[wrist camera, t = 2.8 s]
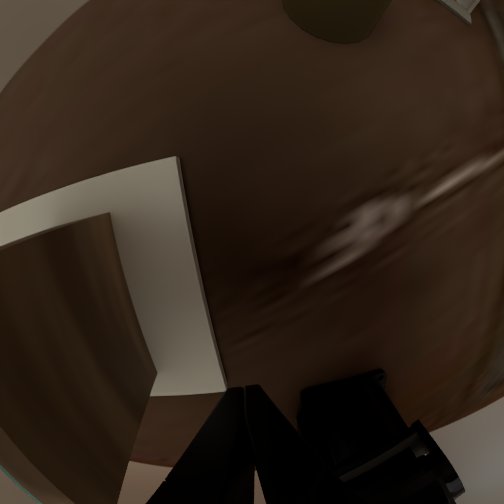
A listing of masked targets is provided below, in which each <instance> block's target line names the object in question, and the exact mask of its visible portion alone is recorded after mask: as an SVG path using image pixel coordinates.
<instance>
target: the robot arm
mask: <svg viewBox="0 0 504 504" xmlns="http://www.w3.org/2000/svg"><path fill="white" fill-rule="evenodd" d="M379 376H380V377H379ZM385 382H386V373H385V372H384V371H383V370H377V371H374V372H371V373H368V374H364V375H361V376H357V377H354V378H350V379H346V380H343V381H339V382H335V383H331V384H327V385H323V386H318V387H314V388H309V389H306V390H304V391H302V392H301V395H300V397H301V412H302V413H299V414H298V415H297V429H298V432H297V431H296V429H295V428H294V427H293V426H292V425H291V423H290V422H289V421H288V420H287V419H286V417H285V416H284V415H283V414H282V413H281V411H280V410H279V409H278V408H277V406H276V405H275V404H274V403H273V401H272V400H271V399H270V398H269V396H268V395H267V394H266V393H265V391H264V390H263V389H262V388H261V386H260V385H258V384H256V385H249V386H245V387H244V388H242V387H233V388H228V389H226V391H225V392H224V394H223V396H222V397H221V399H220V400H219V402H218V403H217V405H216V406H215V408H214V409H213V411H212V412H211V414H210V415H209V417H208V418H207V420H206V421H205V423H204V424H203V426H202V427H201V429H200V430H199V432H198V433H197V435H196V436H195V438H194V439H193V440H192V442H191V443H190V445H189V446H188V448H187V449H186V451H185V452H184V453H183V455H182V456H181V458H180V459H179V460H178V462H177V463H176V465H175V466H174V467H173V469H172V470H171V472H170V473H169V474H168V476H167V477H166V478H165V480H166V481H163V482H162V484H161V485H160V487H159V488H158V489H157V490H156V492H155V493H154V494H153V495H152V497H151V498H150V499H149V500H148V502H147V503H146V504H254V476H255V475H254V474H255V466H256V470H257V473H258V477H259V480H260V483H261V487H262V491H263V494H264V498H265V501H266V504H456V503H455V501H454V500H455V499H456V498H457V497H459V496H460V495H461V494H463V493H464V492H465V489H464V487H463V484H462V482H461V480H460V478H459V476H458V475H457V473H456V471H455V470H454V468H453V466H452V465H451V463H450V462H449V460H448V459H447V457H446V456H445V454H444V453H443V452H442V450H441V449H440V447H439V446H438V445H437V443H436V442H435V441H434V439H433V438H432V437H431V435H430V434H429V433H428V431H427V430H426V429H425V427H424V426H423V425H422V423H421V422H420V421H419V420H417V421H416V422H414V423H413V424H411V425H412V426H411V427H409V428H408V427H407V425H406V423H405V422H404V420H403V419H402V417H401V416H400V414H399V412H398V411H397V409H396V408H395V406H394V405H393V403H392V402H391V400H390V399H389V397H388V395H387V394H386V392H385V391H384V388H385ZM307 395H309V396H307ZM424 454H427V455H426V456H425V455H424Z"/></svg>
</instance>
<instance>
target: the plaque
mask: <svg viewBox="0 0 504 504" xmlns="http://www.w3.org/2000/svg"><path fill="white" fill-rule="evenodd" d="M156 376H157V370H156V368H155V365H154V363H153V360H152V358H151V355H150V352H149V350H148V347H147V344H146V342H145V339H144V336H143V333H142V330H141V327H140V324H139V321H138V318H137V315H136V312H135V309H134V306H133V303H132V299H131V296H130V293H129V289H128V286H127V282H126V279H125V275H124V272H123V268H122V264H121V260H120V256H119V252H118V248H117V244H116V239H115V235H114V230H113V226H112V221H111V216H110V212H108V213H103V214H100V215H96V216H92V217H88V218H84V219H80V220H77V221H73V222H69V223H66V224H62V225H59V226H55V227H52V228H49V229H46V230H43V231H40V232H37V233H34V234H32V235H29V236H26V237H23V238H21V239H18V240H15V241H12V242H10V243H7V244H5V245H2V246H0V469H1V470H2V471H3V472H4V473H5V474H6V475H7V476H8V477H9V478H10V479H11V480H12V481H13V482H14V483H15V484H17V486H19V487H20V488H21V489H22V490H23V491H24V492H25V493H26V494H27V495H29V496H30V497H31V498H32V499H33V500H35V501H36V502H37V503H39V504H117V502H118V498H119V495H120V491H121V487H122V484H123V480H124V476H125V473H126V470H127V466H128V463H129V459H130V456H131V453H132V449H133V446H134V443H135V440H136V436H137V433H138V430H139V427H140V424H141V421H142V418H143V414H144V411H145V408H146V405H147V402H148V399H149V396H150V393H151V391H152V388H153V385H154V382H155V379H156Z"/></svg>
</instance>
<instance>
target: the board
mask: <svg viewBox="0 0 504 504" xmlns="http://www.w3.org/2000/svg"><path fill="white" fill-rule="evenodd" d="M108 212H110V216H111V221H112V226H113V230H114V235H115V239H116V244H117V248H118V252H119V256H120V260H121V264H122V268H123V272H124V275H125V279H126V282H127V286H128V289H129V293H130V296H131V299H132V303H133V306H134V309H135V312H136V315H137V318H138V321H139V324H140V327H141V330H142V333H143V336H144V339H145V342H146V344H147V347H148V350H149V352H150V355H151V358H152V360H153V363H154V365H155V368H156V370H157V376H156V379H155V382H154V385H153V388H152V391H151V393H150V396H171V395H189V394H203V393H214V392H224V391H226V389H227V381H226V377H225V373H224V370H223V366H222V362H221V358H220V354H219V350H218V347H217V343H216V339H215V335H214V330H213V326H212V322H211V318H210V314H209V309H208V305H207V301H206V296H205V292H204V287H203V283H202V278H201V273H200V269H199V264H198V259H197V254H196V249H195V244H194V239H193V234H192V229H191V223H190V218H189V212H188V207H187V201H186V195H185V189H184V183H183V177H182V171H181V165H180V158H179V157H176V156H174V157H170V158H165V159H161V160H156V161H152V162H148V163H144V164H140V165H136V166H132V167H128V168H125V169H121V170H117V171H114V172H110V173H107V174H103V175H100V176H97V177H93V178H90V179H87V180H84V181H81V182H78V183H75V184H72V185H69V186H66V187H63V188H60V189H57V190H55V191H52V192H49V193H46V194H44V195H41V196H39V197H36V198H33V199H31V200H28V201H26V202H23V203H21V204H19V205H16V206H14V207H12V208H9V209H7V210H5V211H2V212H0V246H2V245H5V244H7V243H10V242H12V241H15V240H18V239H21V238H23V237H26V236H29V235H32V234H34V233H37V232H40V231H43V230H46V229H49V228H52V227H55V226H59V225H62V224H66V223H69V222H73V221H77V220H80V219H84V218H88V217H92V216H96V215H100V214H103V213H108Z"/></svg>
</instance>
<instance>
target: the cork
mask: <svg viewBox="0 0 504 504" xmlns="http://www.w3.org/2000/svg"><path fill="white" fill-rule="evenodd" d="M282 1H283V6H284V9H285V11H286V12H287V14H288V15H289V17H290V19H291V20H293V21H294V22H295V23H296V24H297V25H298V26H299V27H300V28H301V29H303V30H305V31H307V32H308V33H310V34H312V35H313V36H315V37H318V38H321V39H324V40H327V41H329V42H334V43H343V44H349V43H356V42H360V41H361V40H363V39H365V38H367V37H368V36H369V35H370V33H371V32H372V30H373V29H374V27H375V25H376V24H377V22H378V21H379V19H380V18H381V16H382V15H383V13H384V12H385V10H386V9H387V7H388V6H389V4H390V3H391V1H392V0H282Z"/></svg>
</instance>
